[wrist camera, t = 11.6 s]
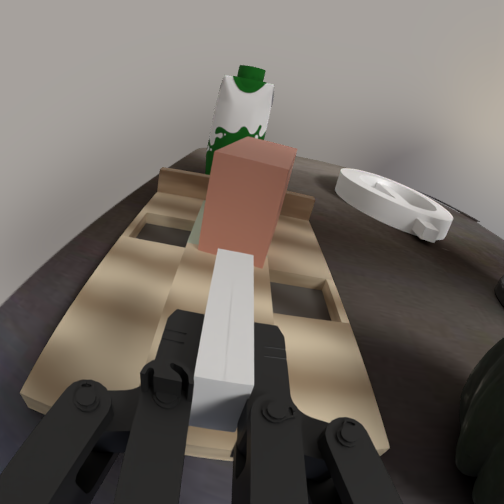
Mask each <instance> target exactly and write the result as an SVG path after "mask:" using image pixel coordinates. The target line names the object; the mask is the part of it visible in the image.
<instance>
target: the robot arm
mask: <svg viewBox="0 0 504 504" xmlns="http://www.w3.org/2000/svg"><path fill="white" fill-rule="evenodd" d="M495 293H496V295H497V297H498V299H499V301H500V302H501V303H502V305H503V306H504V275H503V276H502V277H501V278H500V280H499V282H498V284H497V286H496V287H495ZM285 349H286V347H285V338H284V335H283V334H282V332H281V331H280V329H279V327H278V326H276V325H270V324H263V323H257V322H254V255H250V254H245V253H240V252H234V251H229V250H224V249H219V248H218V251H217V255H216V260H215V265H214V270H213V275H212V280H211V286H210V291H209V296H208V301H207V306H206V312H205V314H200V313H195V312H190V311H185V310H180V309H176V310H175V311H174V312H173V313H172V314H171V315H170V316H169V317H168V319H167V322H166V325H165V328H164V331H163V334H162V338H161V341H160V344H159V347H158V351H157V354H156V357H155V360H152V361H150V362H149V363H147V364H146V365H144V367H143V368H142V370H141V372H140V381H141V386H139V387H137V388H134V389H130V390H107V388H106V387H104V386H103V385H102V384H101V383H99V382H97V381H94V380H86V379H82V380H79V381H76V382H73V383H72V384H71V385H70V386H68V387H67V388H66V390H65V391H64V392H63V393H62V394H61V396H60V397H59V398H58V399H57V401H56V402H55V403H54V404H53V406H52V407H51V408H50V409H49V411H48V412H47V413H46V415H45V416H44V417H43V418H42V420H41V421H40V422H39V424H38V425H37V426H36V427H35V429H34V430H33V431H32V433H31V434H30V435H29V437H28V438H27V439H26V441H25V442H24V443H23V445H22V446H21V447H20V449H19V450H18V451H17V453H16V454H15V455H14V457H13V458H12V459H11V461H10V462H9V464H8V465H7V466H6V468H5V469H4V471H3V472H2V473H1V475H0V504H90V502H91V501H92V499H93V497H94V496H95V494H96V492H97V490H98V489H99V487H100V485H101V484H102V482H103V480H104V478H105V477H106V475H107V473H108V472H109V470H110V468H111V466H112V465H113V463H114V461H115V460H116V458H117V456H118V455H119V453H123V452H125V455H124V459H123V463H122V467H121V472H120V476H119V481H118V485H117V490H116V494H115V499H114V504H179V496H180V487H181V479H182V471H183V463H184V456H185V448H186V441H187V433H188V427H189V426H194V427H200V428H206V429H212V430H220V431H227V432H235V431H236V429H237V440H236V442H235V445H234V447H233V449H232V451H231V454H230V457H233V478H232V504H403V503H402V501H401V499H400V496H399V494H398V492H397V490H396V488H395V486H394V484H393V482H392V480H391V478H390V476H389V474H388V472H387V470H386V468H385V466H384V464H383V462H382V460H381V458H380V456H379V454H378V452H377V450H376V448H375V446H374V444H373V442H372V440H371V438H370V436H369V434H368V432H367V430H366V429H365V428H364V426H363V425H362V424H361V423H359V422H358V421H356V420H355V419H352V418H348V417H339V418H336V419H334V420H332V421H331V422H330V423H328V422H325V421H321V420H318V419H315V418H312V417H310V416H308V415H305V414H304V413H303V412H301V411H300V410H299V409H298V408H297V406H296V405H295V404H294V403H293V401H292V398H291V394H290V384H289V375H288V365H287V360H286V358H287V356H286V351H285Z"/></svg>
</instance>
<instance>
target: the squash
mask: <svg viewBox="0 0 504 504" xmlns="http://www.w3.org/2000/svg"><path fill="white" fill-rule="evenodd" d="M459 418H460V427H461V432H460V436H459V439H458V442H457V447H456V456H455V462H456V466H457V467H458V469H459V471H461V472H462V473H463V474H465V475H468V476H471V477H477V479H476V481H475V484H474V487H473V491H472V499H473V502H474V504H504V338H503V339H501V340H500V341H499V342H498V343H497V344H495V345H494V346H493V347H492V348H491V349H490V350H489V351H488V352H487V353H486V354H485V355H484V357H483V358H482V359H481V360H480V361H479V363H478V364H477V365H476V367H475V368H474V369H473V371H472V373H471V374H470V376H469V378H468V380H467V382H466V384H465V386H464V389H463V391H462V395H461V400H460V410H459Z"/></svg>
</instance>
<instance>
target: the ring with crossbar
mask: <svg viewBox="0 0 504 504" xmlns="http://www.w3.org/2000/svg"><path fill="white" fill-rule="evenodd" d="M335 191H336V193H337V194H338V195H339V196H340V197H341V198H342V199H343V200H344V201H346V202H347V203H348V204H350V205H351V206H353V207H354V208H356V209H358V210H359V211H361V212H363V213H365V214H367V215H369V216H370V217H372V218H374V219H376V220H378V221H381V222H383V223H385V224H387V225H389V226H392V227H394V228H396V229H399V230H401V231H404V232H407V233H410V234H413V235H416V236H418V237H419V238H420V239H422V240H426V241H429V242H432V243H435V241H436V240H442V239H444V238H445V236H446V234H447V232H448V229H449V227H450V225H451V222H452V220H453V217H452V215H451V214H450V213H449V212H448V211H447V210H446V209H445V208H443V207H442V206H441V205H439V204H438V203H436V202H435V201H433V200H431V199H430V198H428V197H426V196H425V195H423V194H421V193H419V192H417V191H415V190H413V189H411V188H409V187H407V186H404V185H402V184H400V183H398V182H395V181H392V180H390V179H387V178H385V177H382V176H379V175H376V174H372V173H369V172H366V171H362V170H357V169H349V168H343V169H341V171H340V174H339V177H338V180H337V184H336V187H335Z"/></svg>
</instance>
